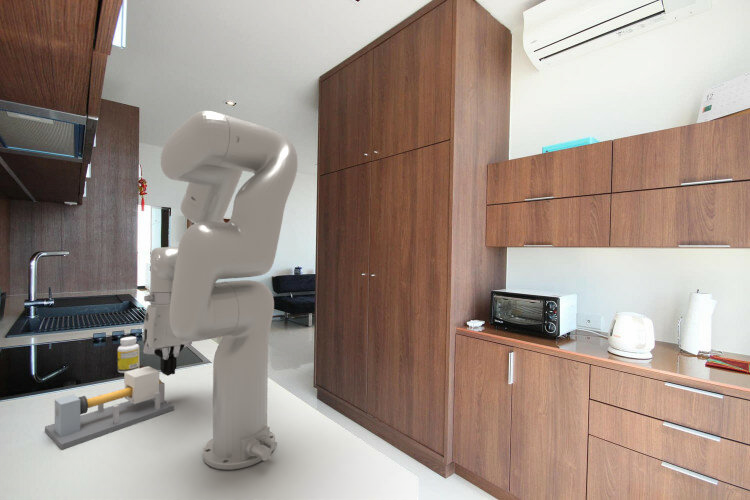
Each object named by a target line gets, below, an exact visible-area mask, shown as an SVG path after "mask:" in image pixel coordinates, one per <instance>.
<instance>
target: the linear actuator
mask: <svg viewBox="0 0 750 500" xmlns="http://www.w3.org/2000/svg"><path fill="white" fill-rule="evenodd" d="M165 388H166V387H165V382H163V381H162V380H161V379H160V378H159V392H157V393H155V398H152V399H149V400H146V401H142V402H139V403H136V404H134V403H132V402H130V401H129V400H127V401H123V402H121V403H118V404H114V405H112V406H107V407H105V406H104V404H107V403H110V402H114V401H117V400H120V399H123V398H124V399H125V397H127V396H131V395H132V391H133V388H132V387H129V388H125V387H124V388H122V389H119V390H115V391H112V392H108V393H103V394H98V395H96V396H93V397H90V398H87V396H85V395H82V396H77V395H75V394H70V395H66V396H62V397H59V398H55V399H54V423H52V424H49V425H46V426H44V432H45V434H47V435H48V437H50V439H51V440H52V442H54V443H55V444H56V445H57V447H59V449H60V450H61V451H62V450H66V449H67V448H71V447H73V446H76V445H79V444H82V443H84V442H87V441H90V440H93V439H96V438H99V437H101V436H104V435H107V434H110V433H112V432H116V431H119V430H121V429H124V428H127V427H130V426H132V425H136V424H138V423H141V422H144V421H146V420H150V419H152V418H154V417H158V416H161V415H163V414H166V413H169V412H172V411H174V410H175V405H173V404H172V403H170V402H168V401H166V399H165ZM92 407H97V410H94V411H92V412H91V411H90V412H89V413H87V412H88V409H90V408H92Z"/></svg>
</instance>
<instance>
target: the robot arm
mask: <svg viewBox="0 0 750 500" xmlns="http://www.w3.org/2000/svg"><path fill="white" fill-rule="evenodd" d="M160 154H161V155H160V167H161V171H162V172H163V174H164V175H165V177H167V178H168V179H170V180H173V181H179V182H187V183H188V184H187V186H186V190H185V193H184V195H183V197H182V200H181V203H180V211H181V213H182V215H183V216H184V217H185V218H186V219H187V220H189V221H190V222H191V223H193V224H191V225H190V226H189V227H188V228H187V229H185V231H184V233H183V234H182V236H181V238H180V241H179V243H178V246H165V247H155V248H154V249H152V250H151V254H150V291H149V294H147V295H145V296H144V297H143V300H144V302H148V303H149V304H148V305H147V307H146V311H145V315H144V322H143V332H142V342H143V346H144V347H143V351H142V353H143V354H145V355H155V356H157V357H158V358H160V372H161V373H162V375H165V376H168V377H169V376H171V375H175V374H176V370H177V362H178V361H177V359H178V358H177V357H178V356H179V355H180V353H181V352H182V351H183V350H184V348H186V347H189V346H191V345H192V344H193V343H194V342H200V341H206V340H207V341H208V340H211V339H216V338H222V336H223V338H222V340H221V339H220V340H221V342H220V341H219V344H218V345H217V348H216V350H215V353H214V357H213V366H212V369H213V370H212V372H213V373H212V438H211V439H210V440H209V441H208V442H207V443H206V444H205V446H204V448H203V450H202V458H203V461H204V463H205V464H206V465H207V466H209V467H211V468H213V469H217V470H225V471H226V470H228V471H230V470H238V469H244V468H248V467H251V466H253V465H256V464H257V463H259V462H262V461H264V462H266V461H268V460H269V459H270V458H271V455H272V453H273V451H274V450H275V449H276V448H277V447H278V442H277V441H276V436H275V434H274V433H273V432H272V431H271V427H270V426H268V383H269V382H268V377H269V375H268V371H269V366H268V364H269V341H270V340H269V339H270V332H271V327H272V321H273V316H274V310H275V300H274V296H273V293H272V291H271V289H270V288H269V287H268V286H267V285H266V284H264V283H263V282H260V281H257V280H249V279H248V280H247V279H245V280H243V279H244V278H254V277H259V276H262V275H266V274H267V273H268V272H270V271H271V269H272V267H273V264H274V263H275V259H276V255H277V250H278V244H279V240H280V235H281V229H282V224H283V218H284V212H285V209H286V205H287V200H288V198H289V196H290V193H291V190H292V188H293V187H294V183H295V180H296V177H297V172H298V153H297V151H296V148H295V146H294V144H293V143H292V141H291V140H290V139H288V137H287V136H285V135H284V134H282V133H280V132H278V131H276V130H273V128H269V127H267V126H264V125H260V124H258V123H254V122H251V121H246V120H243V119H240V118H237V117H234V116H231V115H227V114H224V113H221V112H217V111H212V110H201V111H198V112H196V113H194V114H193V115H192V116H190V117H189V118H188V119H187V120H186V121H185V122H183V123H182V124H181V125H180V126H178V127H177V128H176V129H175V130H174V131H173V133H171V134H170V135H169V137H168V138H167V140H166V142H165V143H164V145H163V147H162V151H161V153H160ZM243 172H248V173H252V174H253V175H252V176H251V177H250V178H248V180H246V181H245V182H244V183H243V185H242V186H241V187H240V188H239V190H238V191H237V192H236V188H237V186H238V184H239V182H240V178H241V177H242V174H243ZM235 192H236V194H235V196H234V193H235ZM233 196H234V201H233V207H232V211H231V212H232V213H231V215H230V219H229V221H227V222H225V220H224V218H225V215H226V212H227V210H228V208H229V205H230V204H231V201H232V198H233ZM242 278H243V279H242ZM226 279H242V280H229V281H221V282H217V281H218V280H226ZM168 348H169V349H168Z"/></svg>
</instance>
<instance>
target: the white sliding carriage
mask: <svg viewBox="0 0 750 500" xmlns="http://www.w3.org/2000/svg"><path fill="white" fill-rule="evenodd" d="M123 374H124V377H123V378H124V380H123V381H124V389H125V388H129V387H132V388H133V391H132V395H131V396H127V397H124V399H126V400H127V401H130V402H132V403H134V404H136V403H139V402H142V401H146V400H149V399H152V398H155V393H157V392H159V379H160V371H159V370H158V369H155V368H153V367H151V366H149V365H148V366H143V367H139V369H135V370H131V371H127V372H124V373H123Z"/></svg>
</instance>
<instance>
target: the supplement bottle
mask: <svg viewBox="0 0 750 500" xmlns="http://www.w3.org/2000/svg"><path fill="white" fill-rule="evenodd" d="M119 342H120V345H119V346H118V347H117V372H118V373H120V374H124V372H127V371H131V370H135V369H139V368H140V345H139V344H138V343H137V336H125V337H121V338H120V340H119Z"/></svg>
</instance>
